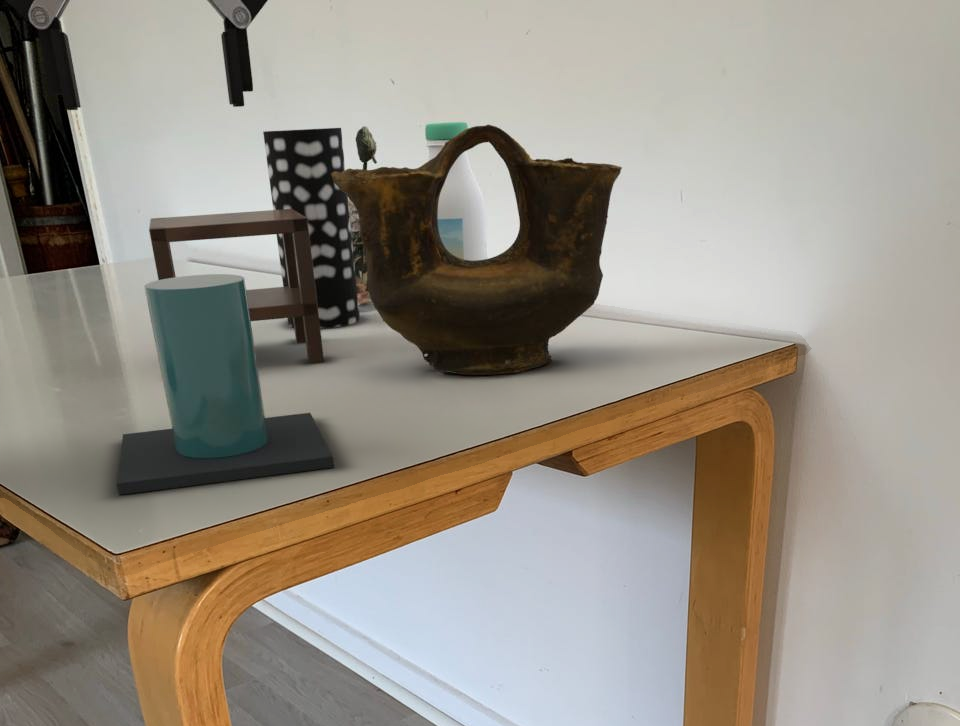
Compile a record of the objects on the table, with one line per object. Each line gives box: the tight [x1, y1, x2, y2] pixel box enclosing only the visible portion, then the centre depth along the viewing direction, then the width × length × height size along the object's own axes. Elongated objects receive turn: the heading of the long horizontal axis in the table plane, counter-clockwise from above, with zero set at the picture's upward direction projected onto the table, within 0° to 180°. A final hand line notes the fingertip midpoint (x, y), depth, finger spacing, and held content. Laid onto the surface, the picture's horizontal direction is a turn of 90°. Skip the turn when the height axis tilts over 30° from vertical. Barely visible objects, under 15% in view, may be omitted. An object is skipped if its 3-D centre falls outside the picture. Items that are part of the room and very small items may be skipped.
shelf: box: [148, 209, 325, 364], centre depth 97 cm, size 14×12×13 cm
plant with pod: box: [348, 125, 378, 308], centre depth 120 cm, size 8×11×20 cm
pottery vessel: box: [331, 124, 623, 376], centre depth 87 cm, size 25×11×20 cm, turn 101°
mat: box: [116, 412, 335, 496], centre depth 70 cm, size 14×12×1 cm
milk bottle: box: [424, 121, 488, 261], centre depth 110 cm, size 8×8×20 cm
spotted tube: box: [262, 127, 361, 330], centre depth 111 cm, size 8×8×20 cm
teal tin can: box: [144, 273, 268, 458], centre depth 68 cm, size 6×9×11 cm
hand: (156, 107), depth 60 cm, fingers open, 9 cm apart
